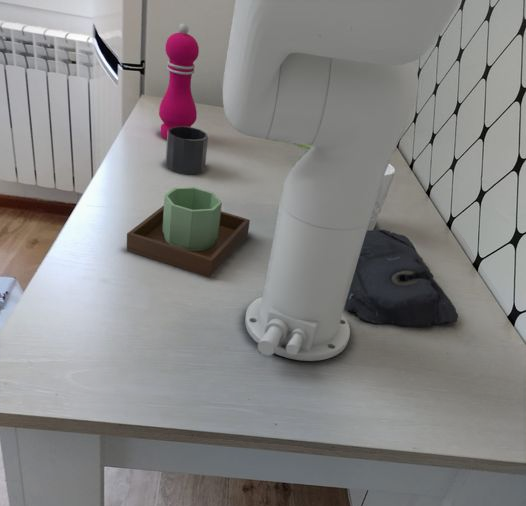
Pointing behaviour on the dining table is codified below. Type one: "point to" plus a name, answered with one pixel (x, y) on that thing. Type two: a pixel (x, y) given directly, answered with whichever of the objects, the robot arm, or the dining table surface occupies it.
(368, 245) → the dark slate chunk
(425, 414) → the dining table surface
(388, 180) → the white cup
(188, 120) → the pepper mill
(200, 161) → the dark grey tub
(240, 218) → the tray
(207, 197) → the top tub
